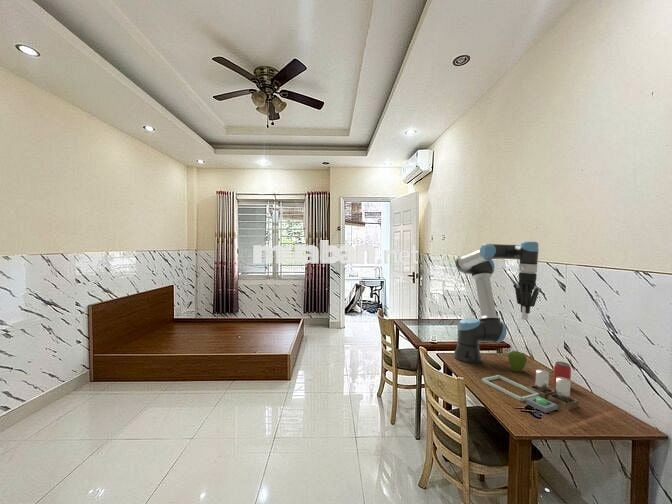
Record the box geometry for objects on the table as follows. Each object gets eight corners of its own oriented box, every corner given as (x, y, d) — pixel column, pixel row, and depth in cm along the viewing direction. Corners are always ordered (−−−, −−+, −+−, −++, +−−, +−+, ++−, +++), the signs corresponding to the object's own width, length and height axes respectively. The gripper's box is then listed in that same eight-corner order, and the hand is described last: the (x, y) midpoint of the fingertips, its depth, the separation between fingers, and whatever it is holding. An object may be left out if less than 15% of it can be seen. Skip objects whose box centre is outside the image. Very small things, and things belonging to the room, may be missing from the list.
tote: (481, 383, 152) (481, 378, 152) (498, 379, 157) (499, 374, 157) (521, 404, 133) (521, 398, 133) (539, 399, 138) (540, 393, 138)
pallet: (524, 393, 143) (524, 386, 143) (538, 389, 147) (538, 382, 147) (566, 413, 127) (567, 405, 127) (580, 408, 131) (581, 401, 131)
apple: (529, 374, 165) (530, 353, 165) (517, 375, 163) (518, 354, 162) (515, 367, 173) (516, 347, 173) (503, 369, 171) (504, 348, 171)
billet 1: (532, 391, 142) (533, 370, 142) (539, 389, 145) (540, 368, 144) (543, 396, 138) (544, 374, 138) (550, 394, 140) (551, 372, 140)
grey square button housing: (525, 405, 131) (526, 399, 131) (537, 402, 135) (538, 395, 135) (545, 415, 124) (545, 408, 124) (557, 411, 128) (557, 404, 127)
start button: (533, 405, 130) (533, 398, 130) (539, 403, 132) (539, 396, 132) (543, 409, 127) (543, 402, 127) (549, 408, 128) (549, 400, 128)
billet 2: (552, 400, 134) (553, 377, 134) (558, 398, 137) (560, 376, 136) (565, 406, 130) (566, 382, 130) (571, 403, 132) (573, 380, 132)
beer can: (572, 392, 146) (574, 366, 146) (557, 390, 148) (558, 365, 147) (565, 385, 153) (566, 361, 152) (550, 384, 154) (551, 360, 154)
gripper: (510, 271, 159) (507, 316, 160) (535, 274, 147) (532, 323, 148) (520, 270, 162) (517, 315, 163) (545, 273, 150) (542, 322, 151)
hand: (524, 319), depth 155 cm, fingers closed
